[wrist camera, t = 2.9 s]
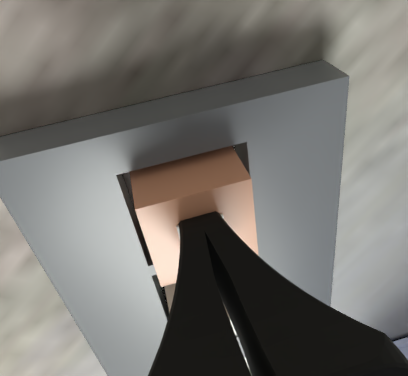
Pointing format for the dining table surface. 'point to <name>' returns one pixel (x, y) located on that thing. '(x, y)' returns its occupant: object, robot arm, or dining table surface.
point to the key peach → (191, 202)
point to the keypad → (165, 152)
